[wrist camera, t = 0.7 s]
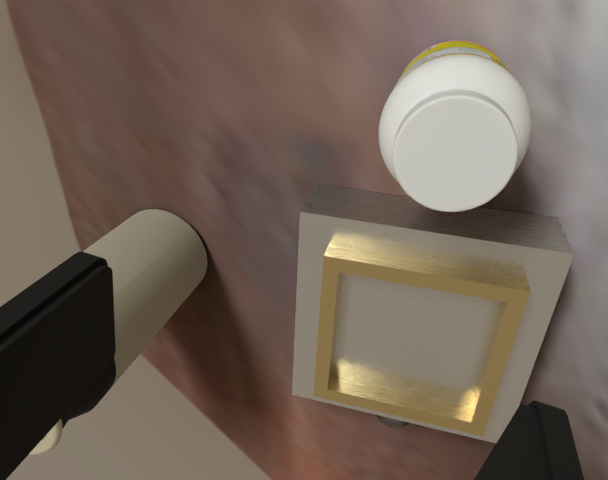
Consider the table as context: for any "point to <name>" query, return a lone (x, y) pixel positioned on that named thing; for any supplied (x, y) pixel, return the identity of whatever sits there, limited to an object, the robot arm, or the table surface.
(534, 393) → the table surface
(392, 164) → the supplement bottle
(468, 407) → the white gold-rimmed box
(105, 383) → the travel mug
